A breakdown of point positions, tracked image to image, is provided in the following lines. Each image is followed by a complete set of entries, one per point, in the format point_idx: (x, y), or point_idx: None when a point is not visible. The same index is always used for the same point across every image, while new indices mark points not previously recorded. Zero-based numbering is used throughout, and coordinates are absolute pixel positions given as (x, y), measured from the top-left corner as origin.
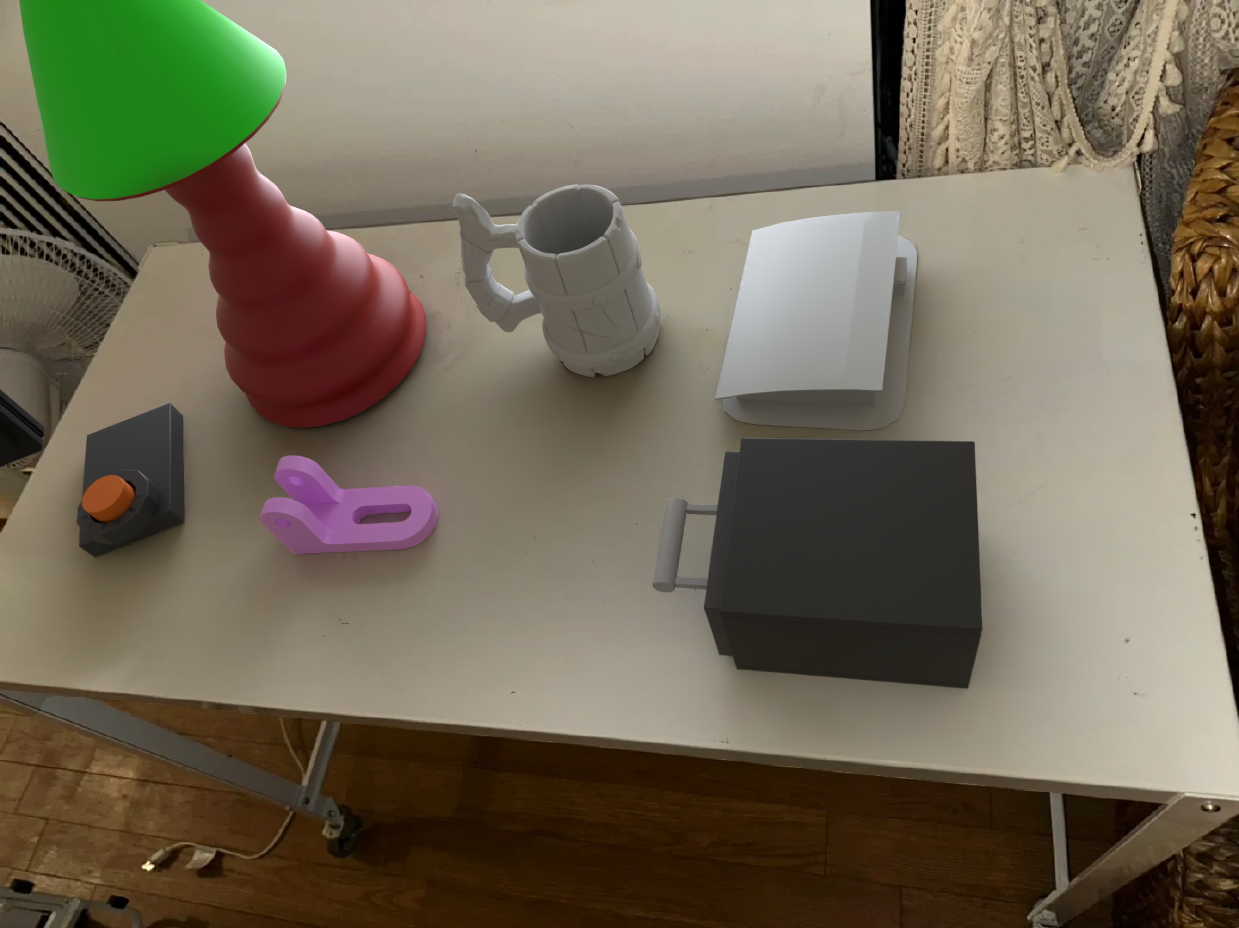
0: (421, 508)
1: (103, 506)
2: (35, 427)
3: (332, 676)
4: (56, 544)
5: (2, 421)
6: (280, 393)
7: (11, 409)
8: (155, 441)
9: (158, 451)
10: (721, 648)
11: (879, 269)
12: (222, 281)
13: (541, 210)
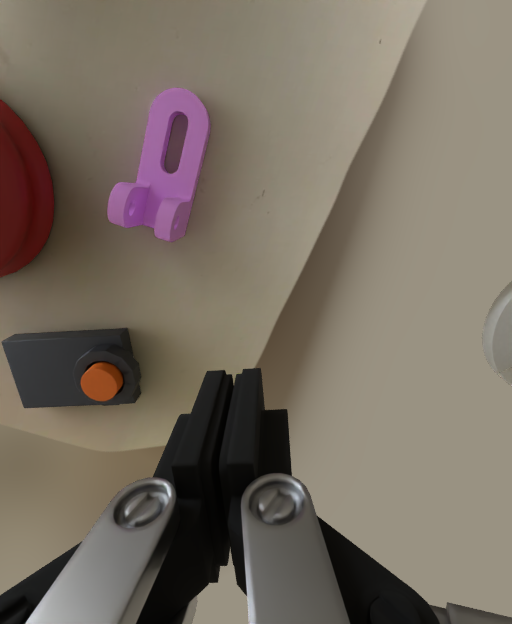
0: (179, 100)
1: (112, 383)
2: (221, 382)
3: (305, 206)
4: (121, 421)
5: (257, 439)
6: (17, 223)
7: (215, 425)
8: (43, 351)
9: (55, 348)
10: None
11: None
12: None
13: None
